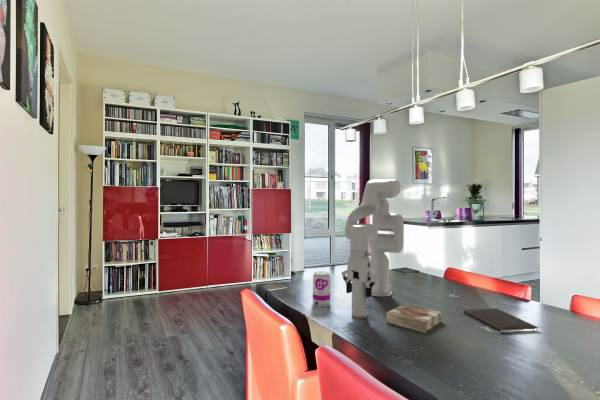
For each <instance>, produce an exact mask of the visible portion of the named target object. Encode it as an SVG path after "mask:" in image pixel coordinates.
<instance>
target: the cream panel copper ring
mask: <svg viewBox="0 0 600 400" xmlns="http://www.w3.org/2000/svg"><path fill="white" fill-rule="evenodd" d="M385 321H386V323H388V324H391V325H396V326H399V327H403V328H407V329H410V330H414V331H417V332H421V333H426V332H428V331H430V330H431V329H432V328H433V327H436V326H437V325H439V324H440V323H442V312H441V311H438V310H433V309H428V308H426V307H425V308H424V307H420V306H416V305H410V304H406V303H404V304H401V305H399V306H397V307H395V308H393V309H391V310H388V311H387V312H386V320H385Z"/></svg>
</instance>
